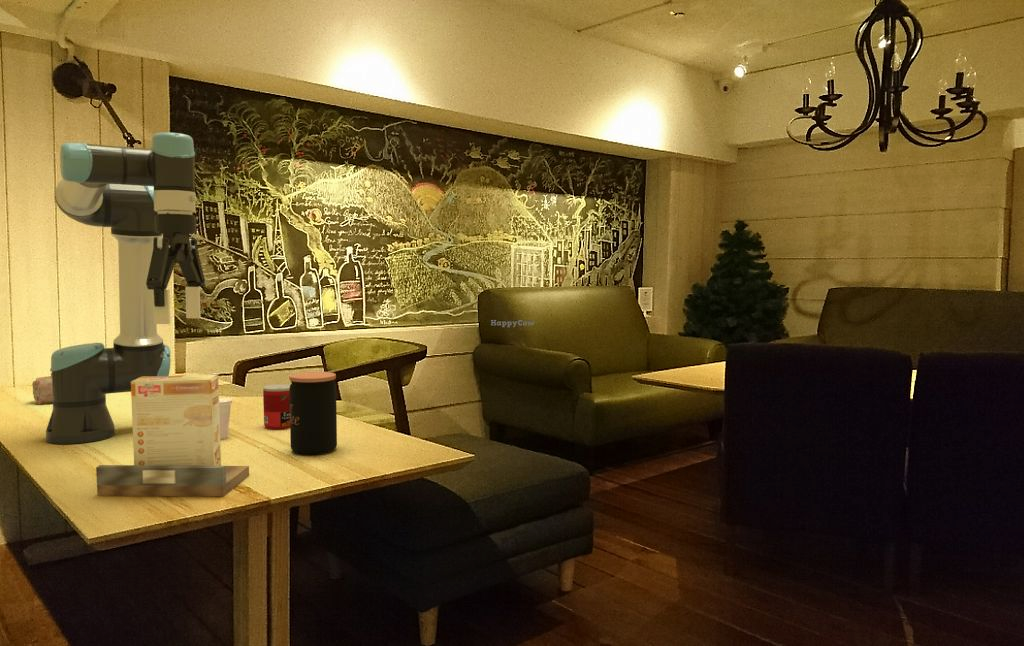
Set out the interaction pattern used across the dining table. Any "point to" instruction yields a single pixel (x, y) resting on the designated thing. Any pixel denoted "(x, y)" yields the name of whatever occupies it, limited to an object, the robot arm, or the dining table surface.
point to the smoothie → (224, 416)
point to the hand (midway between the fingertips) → (178, 321)
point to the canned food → (276, 406)
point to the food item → (43, 390)
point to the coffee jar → (313, 413)
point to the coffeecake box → (176, 420)
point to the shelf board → (168, 480)
